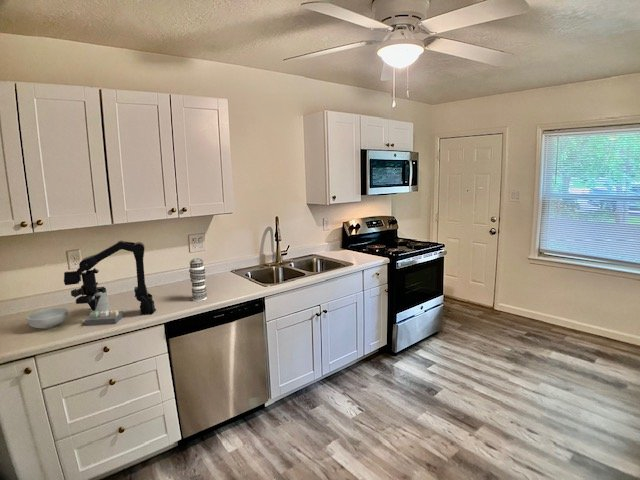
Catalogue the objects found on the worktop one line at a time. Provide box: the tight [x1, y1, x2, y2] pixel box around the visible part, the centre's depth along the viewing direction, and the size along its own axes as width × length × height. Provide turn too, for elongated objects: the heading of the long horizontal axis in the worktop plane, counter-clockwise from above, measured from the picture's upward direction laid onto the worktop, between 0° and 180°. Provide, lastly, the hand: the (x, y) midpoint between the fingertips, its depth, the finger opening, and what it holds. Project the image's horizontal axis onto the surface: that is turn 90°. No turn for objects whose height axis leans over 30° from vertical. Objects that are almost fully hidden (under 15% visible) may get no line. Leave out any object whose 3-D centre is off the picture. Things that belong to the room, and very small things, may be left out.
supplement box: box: [90, 289, 111, 313], centre depth 203 cm, size 7×7×13 cm
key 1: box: [89, 311, 99, 318], centre depth 189 cm, size 3×3×3 cm
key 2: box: [109, 309, 119, 316], centre depth 190 cm, size 3×3×3 cm
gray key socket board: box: [84, 310, 125, 327], centre depth 190 cm, size 15×10×3 cm, turn 96°
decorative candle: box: [188, 257, 208, 302], centre depth 217 cm, size 9×9×25 cm
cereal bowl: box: [26, 306, 69, 330], centre depth 185 cm, size 17×17×7 cm
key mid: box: [100, 310, 110, 317], centre depth 189 cm, size 3×3×3 cm
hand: (93, 310), depth 188 cm, fingers closed
